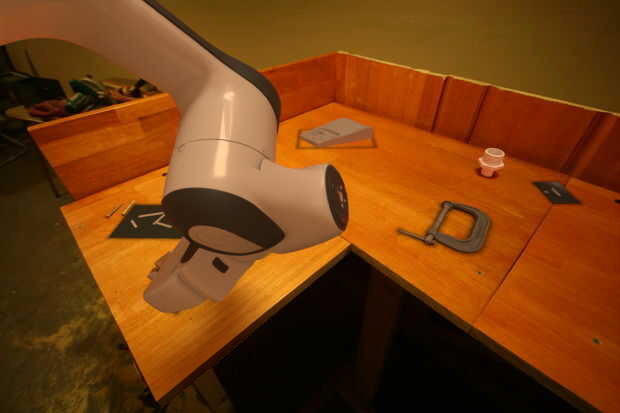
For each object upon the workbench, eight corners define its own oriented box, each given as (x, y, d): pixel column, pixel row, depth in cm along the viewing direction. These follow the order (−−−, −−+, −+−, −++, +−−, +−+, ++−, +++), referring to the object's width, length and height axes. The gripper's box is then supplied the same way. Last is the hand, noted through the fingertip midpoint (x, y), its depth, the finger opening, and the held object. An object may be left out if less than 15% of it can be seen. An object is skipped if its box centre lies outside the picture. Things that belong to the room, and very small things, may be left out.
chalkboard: (109, 239, 76) (108, 237, 75) (135, 206, 86) (134, 204, 85) (196, 240, 75) (195, 237, 74) (211, 207, 85) (210, 204, 84)
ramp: (297, 149, 110) (297, 135, 107) (299, 130, 122) (299, 118, 119) (375, 148, 109) (377, 134, 106) (369, 130, 121) (370, 117, 118)
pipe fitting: (492, 169, 97) (501, 146, 92) (500, 181, 91) (511, 158, 86) (471, 168, 97) (479, 146, 92) (478, 181, 92) (487, 157, 87)
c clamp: (469, 268, 66) (473, 259, 64) (397, 233, 75) (399, 225, 73) (496, 220, 78) (500, 212, 76) (431, 195, 87) (434, 187, 85)
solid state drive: (552, 204, 82) (553, 202, 81) (532, 183, 90) (533, 181, 89) (579, 204, 82) (580, 202, 81) (556, 183, 89) (558, 181, 89)
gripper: (249, 165, 45) (191, 191, 52) (173, 282, 30) (108, 297, 37) (273, 195, 48) (216, 216, 55) (216, 315, 33) (148, 322, 41)
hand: (171, 250), depth 46 cm, fingers open, 8 cm apart
